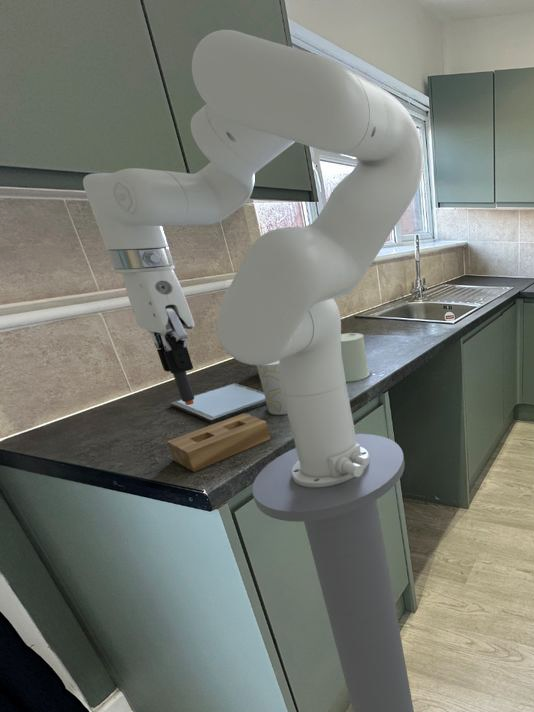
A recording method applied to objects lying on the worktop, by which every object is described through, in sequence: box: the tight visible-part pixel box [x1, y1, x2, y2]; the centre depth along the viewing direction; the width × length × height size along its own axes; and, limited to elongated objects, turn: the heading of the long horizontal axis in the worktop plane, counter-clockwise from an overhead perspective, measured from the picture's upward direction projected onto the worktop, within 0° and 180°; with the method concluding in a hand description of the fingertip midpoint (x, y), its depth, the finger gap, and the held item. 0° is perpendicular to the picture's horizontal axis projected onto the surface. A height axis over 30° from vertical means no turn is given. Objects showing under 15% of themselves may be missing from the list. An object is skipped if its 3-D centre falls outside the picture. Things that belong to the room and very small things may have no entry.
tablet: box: [170, 382, 267, 424], centre depth 103 cm, size 20×15×1 cm
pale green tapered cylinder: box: [341, 332, 371, 383], centre depth 116 cm, size 9×9×12 cm
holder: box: [166, 412, 271, 473], centre depth 80 cm, size 8×14×4 cm, turn 148°
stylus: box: [162, 338, 194, 405], centre depth 73 cm, size 2×2×12 cm
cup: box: [256, 360, 288, 416], centre depth 97 cm, size 8×8×12 cm
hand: (178, 369), depth 72 cm, fingers closed on stylus, 1 cm apart
